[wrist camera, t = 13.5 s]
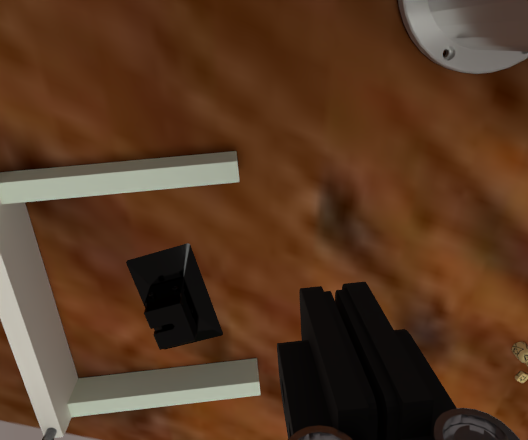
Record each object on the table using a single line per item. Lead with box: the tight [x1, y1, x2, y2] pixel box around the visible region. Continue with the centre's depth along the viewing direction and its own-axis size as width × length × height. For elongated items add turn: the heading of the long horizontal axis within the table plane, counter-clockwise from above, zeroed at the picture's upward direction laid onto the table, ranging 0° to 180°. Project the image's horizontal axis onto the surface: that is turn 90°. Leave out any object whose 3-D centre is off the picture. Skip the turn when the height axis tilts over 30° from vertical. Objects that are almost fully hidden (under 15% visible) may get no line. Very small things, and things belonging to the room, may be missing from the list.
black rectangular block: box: [126, 244, 223, 350], centre depth 35 cm, size 12×7×5 cm, turn 14°
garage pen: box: [0, 151, 260, 440], centre depth 30 cm, size 18×21×13 cm
